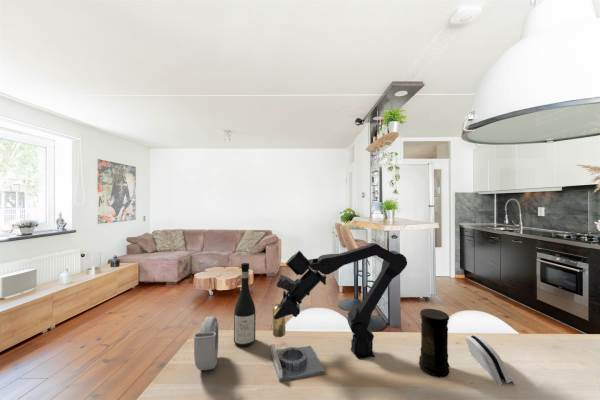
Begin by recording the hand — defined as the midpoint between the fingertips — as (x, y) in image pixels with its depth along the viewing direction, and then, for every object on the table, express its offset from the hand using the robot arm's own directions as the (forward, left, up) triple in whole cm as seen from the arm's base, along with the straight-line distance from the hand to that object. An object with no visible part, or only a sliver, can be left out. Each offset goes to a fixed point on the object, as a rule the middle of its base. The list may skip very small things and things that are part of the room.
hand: (275, 315), depth 97 cm
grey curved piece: (-65, +26, -14) cm, 71 cm away
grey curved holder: (+22, +2, -14) cm, 26 cm away
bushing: (-1, 0, -7) cm, 7 cm away
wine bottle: (+10, -10, -14) cm, 20 cm away
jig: (-6, +8, -13) cm, 17 cm away
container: (-48, +22, -14) cm, 54 cm away
